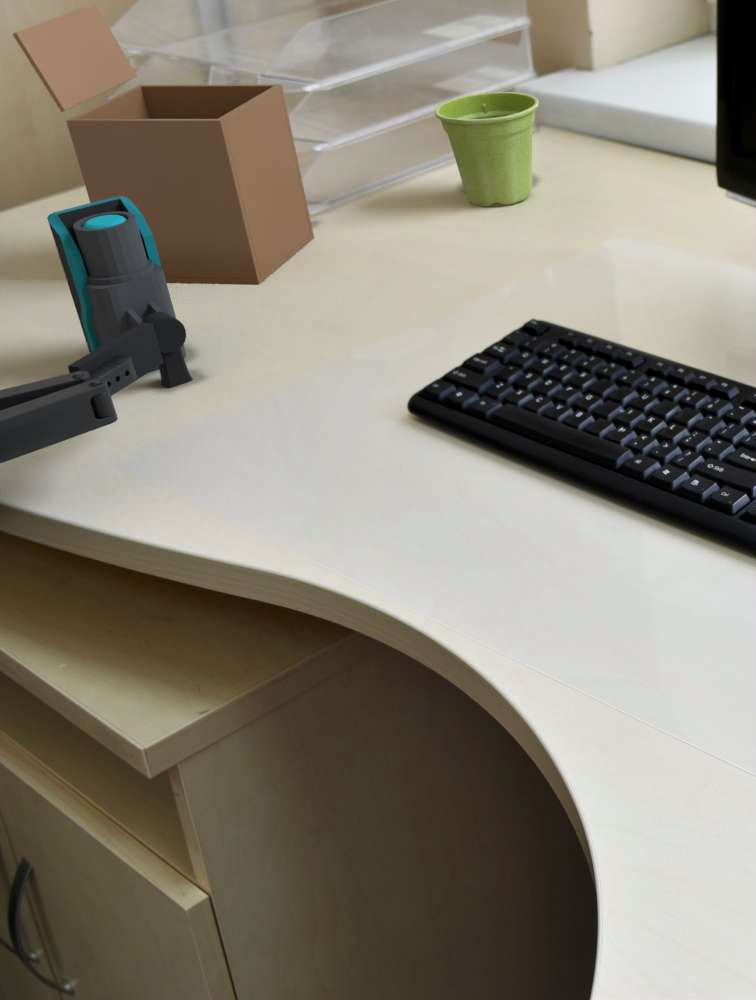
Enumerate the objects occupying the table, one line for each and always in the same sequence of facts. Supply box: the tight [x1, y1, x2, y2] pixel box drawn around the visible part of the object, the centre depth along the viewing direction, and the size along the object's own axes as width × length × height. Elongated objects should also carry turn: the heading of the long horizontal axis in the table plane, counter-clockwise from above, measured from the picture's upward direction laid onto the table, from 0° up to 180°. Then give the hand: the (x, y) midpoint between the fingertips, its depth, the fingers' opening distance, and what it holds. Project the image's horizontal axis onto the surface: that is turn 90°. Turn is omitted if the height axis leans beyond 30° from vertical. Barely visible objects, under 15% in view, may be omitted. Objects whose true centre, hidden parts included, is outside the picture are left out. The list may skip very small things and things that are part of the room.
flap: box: [12, 3, 138, 113], centre depth 111 cm, size 6×11×1 cm
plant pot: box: [434, 91, 540, 207], centre depth 128 cm, size 9×9×9 cm
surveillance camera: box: [47, 196, 194, 389], centre depth 94 cm, size 6×12×10 cm
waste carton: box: [66, 83, 315, 285], centre depth 115 cm, size 13×11×14 cm
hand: (66, 332), depth 88 cm, fingers open, 13 cm apart
